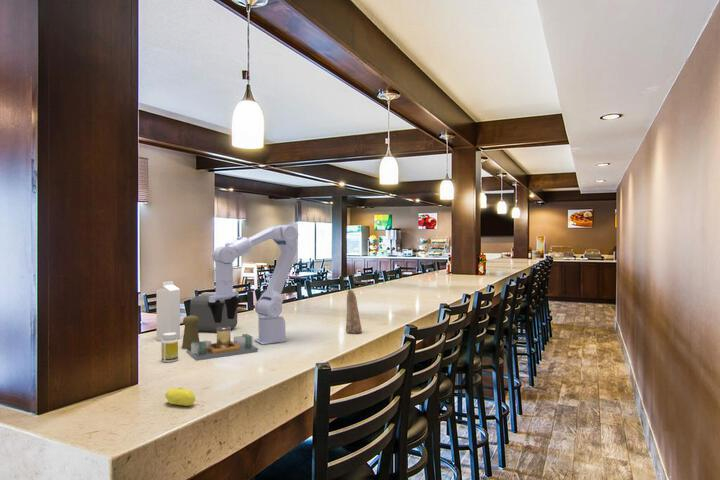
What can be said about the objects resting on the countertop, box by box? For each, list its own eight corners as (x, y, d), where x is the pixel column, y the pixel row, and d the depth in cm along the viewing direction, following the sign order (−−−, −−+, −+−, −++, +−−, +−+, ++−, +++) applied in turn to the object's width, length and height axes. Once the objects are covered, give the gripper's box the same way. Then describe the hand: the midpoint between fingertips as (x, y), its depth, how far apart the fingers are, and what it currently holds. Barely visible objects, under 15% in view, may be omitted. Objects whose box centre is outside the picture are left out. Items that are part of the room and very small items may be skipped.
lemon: (186, 410, 102) (186, 392, 102) (160, 404, 106) (160, 387, 106) (200, 404, 106) (200, 387, 106) (175, 399, 110) (175, 382, 110)
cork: (194, 349, 159) (194, 317, 159) (178, 348, 160) (178, 317, 160) (203, 345, 165) (203, 314, 165) (188, 344, 166) (188, 314, 166)
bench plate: (244, 344, 166) (244, 331, 166) (257, 351, 156) (257, 338, 156) (185, 352, 155) (185, 338, 155) (195, 360, 144) (195, 345, 144)
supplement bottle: (181, 359, 146) (181, 332, 146) (170, 363, 141) (170, 335, 141) (169, 358, 147) (168, 331, 147) (158, 361, 143) (158, 334, 143)
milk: (156, 340, 173) (155, 281, 173) (166, 337, 179) (166, 280, 179) (170, 341, 171) (169, 282, 171) (180, 338, 177) (180, 280, 177)
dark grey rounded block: (237, 328, 196) (237, 292, 196) (223, 334, 185) (223, 295, 185) (202, 327, 200) (202, 291, 200) (187, 332, 189) (187, 294, 189)
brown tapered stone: (345, 333, 189) (348, 336, 183) (338, 290, 188) (341, 292, 182) (360, 330, 191) (363, 333, 185) (353, 287, 189) (357, 289, 184)
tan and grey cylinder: (221, 346, 158) (221, 326, 158) (233, 347, 157) (233, 326, 157) (213, 349, 154) (213, 328, 154) (226, 350, 153) (226, 329, 153)
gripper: (221, 283, 151) (221, 325, 151) (245, 279, 165) (246, 317, 165) (203, 283, 153) (203, 323, 153) (228, 279, 167) (229, 316, 167)
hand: (224, 320), depth 159 cm, fingers open, 7 cm apart
